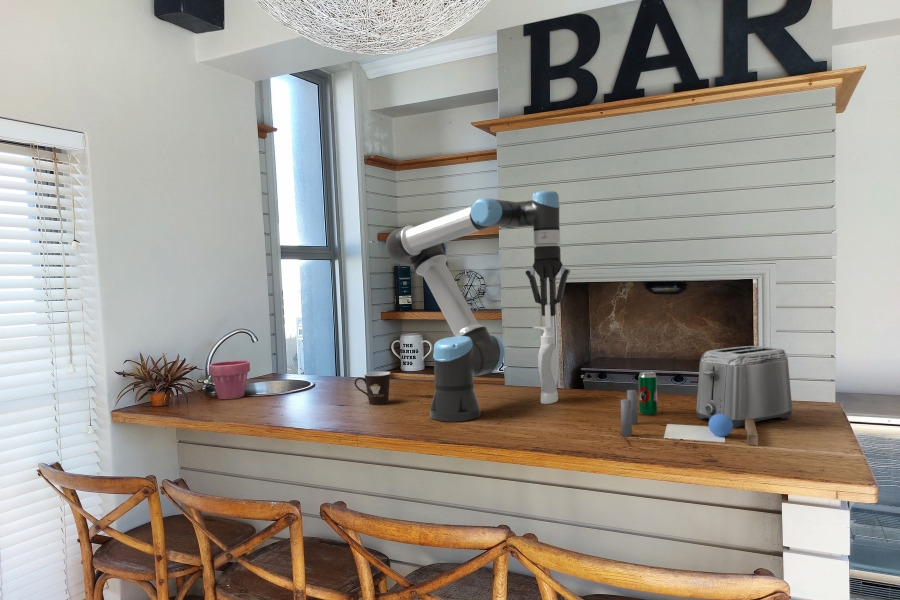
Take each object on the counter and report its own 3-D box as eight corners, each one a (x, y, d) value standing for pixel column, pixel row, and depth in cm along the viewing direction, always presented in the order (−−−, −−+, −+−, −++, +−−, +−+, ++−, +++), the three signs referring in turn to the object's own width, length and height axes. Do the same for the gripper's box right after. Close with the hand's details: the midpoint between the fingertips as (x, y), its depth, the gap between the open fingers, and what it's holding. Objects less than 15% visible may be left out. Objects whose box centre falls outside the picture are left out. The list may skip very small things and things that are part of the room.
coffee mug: (396, 401, 209) (395, 372, 209) (380, 406, 202) (379, 376, 201) (370, 398, 215) (368, 370, 215) (353, 403, 208) (352, 374, 208)
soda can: (658, 415, 177) (657, 374, 176) (640, 415, 178) (639, 374, 177) (656, 411, 182) (655, 371, 181) (638, 411, 183) (637, 371, 182)
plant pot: (228, 392, 237) (227, 359, 237) (259, 393, 233) (257, 360, 232) (202, 400, 224) (200, 365, 223) (234, 401, 219) (232, 366, 218)
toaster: (684, 418, 173) (682, 350, 172) (760, 406, 184) (759, 342, 183) (732, 432, 157) (731, 357, 156) (812, 417, 169) (811, 348, 168)
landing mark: (663, 438, 153) (663, 437, 153) (667, 424, 166) (667, 424, 166) (725, 442, 148) (725, 441, 148) (724, 428, 161) (724, 427, 161)
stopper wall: (748, 445, 145) (748, 434, 145) (745, 428, 160) (744, 418, 160) (757, 446, 144) (757, 435, 144) (753, 429, 159) (753, 419, 159)
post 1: (620, 436, 157) (620, 401, 156) (622, 433, 159) (621, 399, 159) (631, 436, 156) (630, 401, 155) (632, 434, 158) (631, 399, 158)
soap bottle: (541, 396, 209) (539, 324, 208) (563, 397, 205) (561, 325, 204) (527, 404, 198) (525, 328, 197) (550, 405, 194) (548, 328, 193)
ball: (707, 416, 152) (732, 417, 149) (708, 410, 157) (732, 411, 154) (708, 438, 152) (733, 440, 150) (709, 432, 157) (733, 433, 155)
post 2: (627, 424, 168) (626, 391, 168) (628, 421, 171) (627, 389, 170) (636, 424, 167) (636, 391, 167) (638, 422, 170) (637, 390, 169)
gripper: (521, 246, 176) (523, 328, 177) (566, 244, 171) (568, 328, 172) (528, 247, 183) (530, 326, 184) (572, 245, 178) (574, 326, 179)
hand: (549, 327), depth 178 cm, fingers closed
